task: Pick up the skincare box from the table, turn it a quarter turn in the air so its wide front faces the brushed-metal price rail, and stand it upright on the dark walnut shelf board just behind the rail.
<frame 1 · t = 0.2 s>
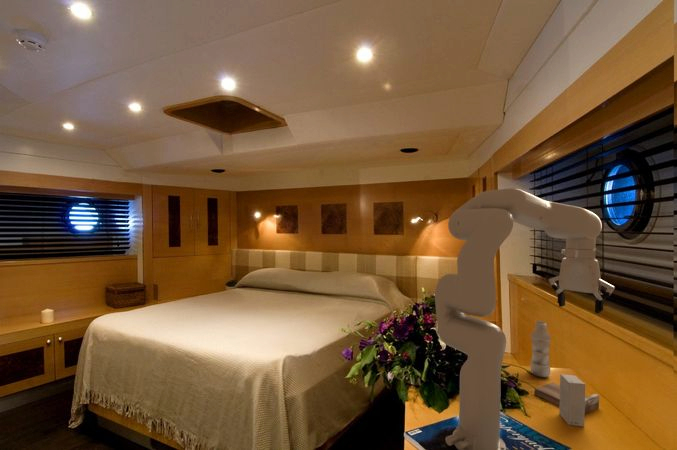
hand: (579, 309, 106), 30 cm above the table, tool pointing down, fingers open, 9 cm apart
shelf board: (565, 400, 108), on the table
plastic bottle: (540, 376, 127), on the table
skincare box: (571, 420, 98), on the table
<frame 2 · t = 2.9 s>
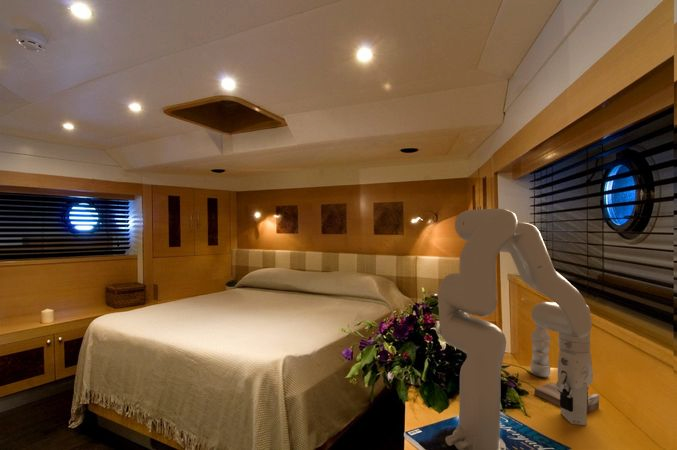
hand: (574, 405, 98), 4 cm above the table, tool pointing down, fingers closed on skincare box, 6 cm apart
skincare box: (573, 419, 98), on the table, touching gripper
everything else where it was.
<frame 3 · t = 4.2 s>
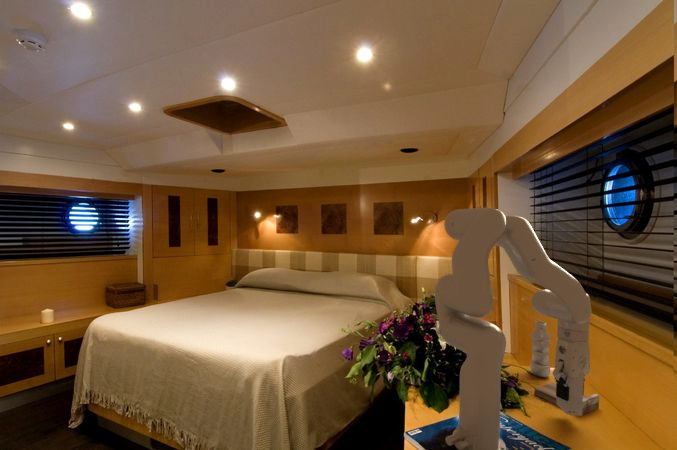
hand: (569, 395, 97), 7 cm above the table, tool pointing down, fingers closed on skincare box, 6 cm apart
skincare box: (568, 410, 97), point 3 cm above the table, touching gripper
everything else where it was.
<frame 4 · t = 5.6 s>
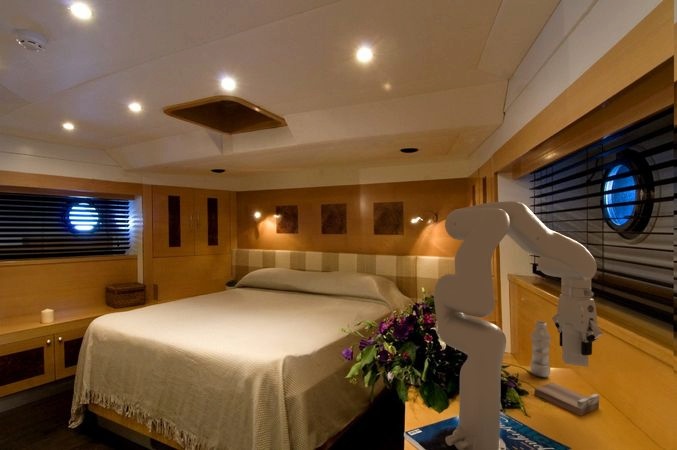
hand: (575, 349, 104), 18 cm above the table, tool pointing down, fingers closed on skincare box, 6 cm apart
skincare box: (574, 363, 104), point 14 cm above the table, touching gripper
everything else where it was.
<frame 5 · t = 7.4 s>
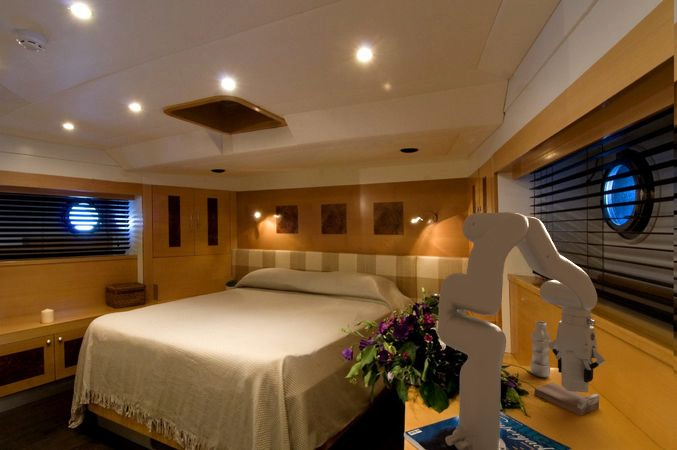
hand: (574, 375, 106), 9 cm above the table, tool pointing down, fingers closed on skincare box, 6 cm apart
skincare box: (574, 389, 106), point 5 cm above the table, touching gripper
everything else where it was.
when the fingers open (7 cm above the table, at t = 8.4 s): skincare box stays where it is, resting on shelf board.
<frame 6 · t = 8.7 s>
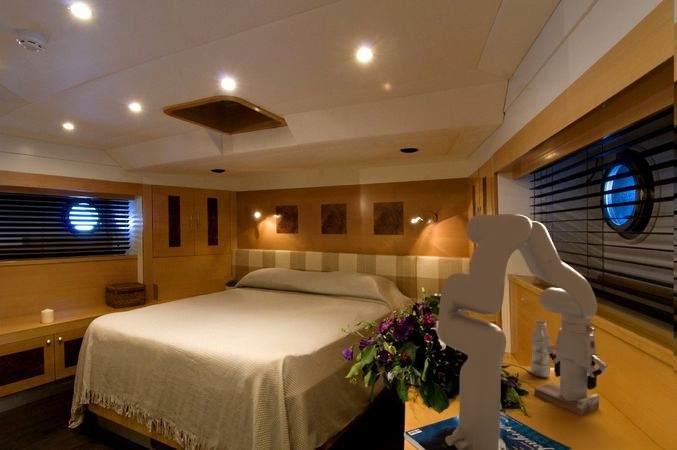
hand: (574, 381, 106), 7 cm above the table, tool pointing down, fingers open, 9 cm apart
skincare box: (572, 398, 106), point 2 cm above the table, touching shelf board
everything else where it was.
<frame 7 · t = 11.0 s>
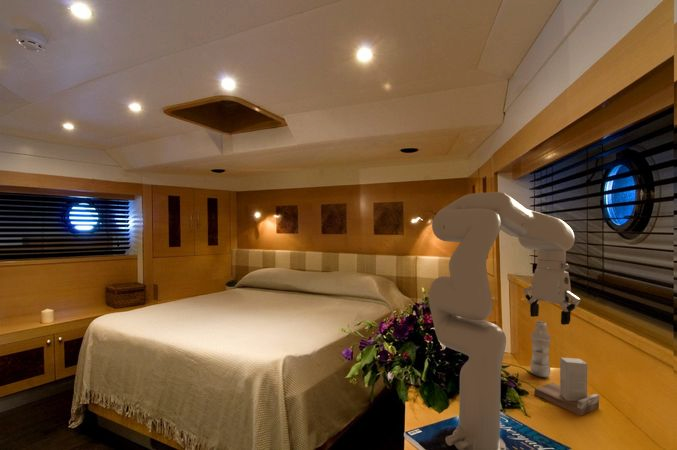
hand: (549, 320, 107), 26 cm above the table, tool pointing down, fingers open, 9 cm apart
nothing on the table moved.
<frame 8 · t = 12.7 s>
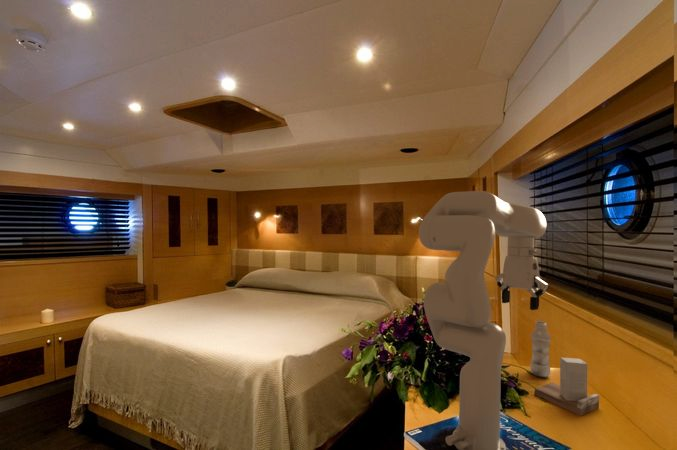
hand: (519, 305, 108), 30 cm above the table, tool pointing down, fingers open, 9 cm apart
nothing on the table moved.
at the end: skincare box inside the target area (0.3 cm from its centre), point 1.8 cm above the table; skincare box tilted 0°; the gripper is holding nothing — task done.
